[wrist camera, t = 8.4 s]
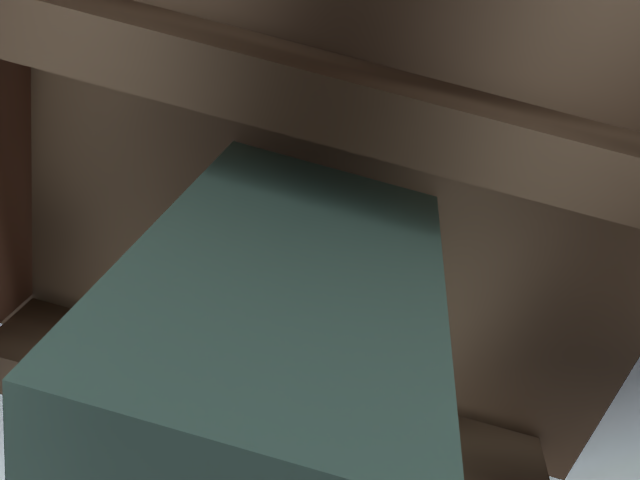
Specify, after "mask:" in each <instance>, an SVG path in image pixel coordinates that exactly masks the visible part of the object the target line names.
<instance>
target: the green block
mask: <svg viewBox="0 0 640 480" xmlns="http://www.w3.org/2000/svg"><path fill="white" fill-rule="evenodd" d="M2 390H3V423H4V455H5V480H464V474H463V463H462V453H461V442H460V432H459V421H458V411H457V400H456V390H455V379H454V369H453V359H452V348H451V338H450V327H449V317H448V306H447V296H446V285H445V275H444V264H443V254H442V243H441V233H440V223H439V212H438V202H437V197H436V196H432V195H429V194H425V193H421V192H418V191H414V190H410V189H407V188H403V187H399V186H396V185H392V184H388V183H385V182H381V181H378V180H374V179H370V178H367V177H363V176H359V175H356V174H352V173H348V172H345V171H341V170H337V169H334V168H330V167H326V166H323V165H319V164H315V163H312V162H308V161H304V160H301V159H297V158H294V157H290V156H286V155H283V154H279V153H275V152H272V151H268V150H264V149H261V148H257V147H253V146H250V145H246V144H242V143H239V142H235V141H233V142H232V143H231V144H230V145H229V146H228V147H227V148H226V149H225V150H224V151H223V152H222V153H221V154H220V155H219V156H218V157H217V158H216V159H215V161H214V162H213V163H212V164H211V165H210V166H209V167H208V168H207V169H206V170H205V171H204V172H203V173H202V174H201V175H200V176H199V177H198V178H197V179H196V180H195V181H194V182H193V183H192V184H191V185H190V186H189V187H188V188H187V189H186V190H185V191H184V193H183V194H182V195H181V196H180V197H179V198H178V199H177V200H176V201H175V202H174V203H173V204H172V205H171V206H170V207H169V208H168V209H167V210H166V211H165V212H164V213H163V214H162V215H161V216H160V217H159V218H158V219H157V220H156V221H155V222H154V223H153V225H152V226H151V227H150V228H149V229H148V230H147V231H146V232H145V233H144V234H143V235H142V236H141V237H140V238H139V239H138V240H137V241H136V242H135V243H134V244H133V245H132V246H131V247H130V248H129V249H128V250H127V251H126V252H125V253H124V254H123V255H122V257H121V258H120V259H119V260H118V261H117V262H116V263H115V264H114V265H113V266H112V267H111V268H110V269H109V270H108V271H107V272H106V273H105V274H104V275H103V276H102V277H101V278H100V279H99V280H98V281H97V282H96V283H95V284H94V285H93V286H92V287H91V289H90V290H89V291H88V292H87V293H86V294H85V295H84V296H83V297H82V298H81V299H80V300H79V301H78V302H77V303H76V304H75V305H74V306H73V307H72V308H71V309H70V310H69V311H68V312H67V313H66V314H65V315H64V316H63V317H62V318H61V319H60V321H59V322H58V323H57V324H56V325H55V326H54V327H53V328H52V329H51V330H50V331H49V332H48V333H47V334H46V335H45V336H44V337H43V338H42V339H41V340H40V341H39V342H38V343H37V344H36V345H35V346H34V347H33V348H32V349H31V350H30V351H29V353H28V354H27V355H26V356H25V357H24V358H23V359H22V360H21V361H20V362H19V363H18V364H17V365H16V366H15V367H14V368H13V369H12V370H11V371H10V372H9V373H8V374H7V375H6V376H5V377H4V378H3V379H2Z"/></svg>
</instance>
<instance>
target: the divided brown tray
mask: <svg viewBox="0 0 640 480" xmlns="http://www.w3.org/2000/svg"><path fill="white" fill-rule="evenodd" d="M233 141H235V142H239V143H242V144H246V145H250V146H253V147H257V148H261V149H264V150H268V151H272V152H275V153H279V154H283V155H286V156H290V157H294V158H297V159H301V160H304V161H308V162H312V163H315V164H319V165H323V166H326V167H330V168H334V169H337V170H341V171H345V172H348V173H352V174H356V175H359V176H363V177H367V178H370V179H374V180H378V181H381V182H385V183H388V184H392V185H396V186H399V187H403V188H407V189H410V190H414V191H418V192H421V193H425V194H429V195H432V196H436V197H437V202H438V212H439V223H440V233H441V243H442V254H443V264H444V275H445V285H446V296H447V306H448V317H449V327H450V338H451V348H452V359H453V369H454V379H455V390H456V400H457V411H458V421H459V432H460V442H461V453H462V463H463V474H464V480H550V479H549V476H551V477H555V478H558V479H562V480H565V478H566V476H567V475H568V473H569V471H570V470H571V468H572V466H573V465H574V463H575V462H576V460H577V458H578V457H579V455H580V453H581V452H582V450H583V448H584V447H585V445H586V444H587V442H588V440H589V439H590V437H591V435H592V434H593V432H594V430H595V429H596V427H597V426H598V424H599V422H600V421H601V419H602V417H603V416H604V414H605V412H606V411H607V409H608V408H609V406H610V404H611V403H612V401H613V399H614V398H615V396H616V394H617V393H618V391H619V390H620V388H621V386H622V385H623V383H624V381H625V380H626V378H627V376H628V375H629V373H630V372H631V370H632V368H633V367H634V365H635V363H636V362H637V360H638V358H639V357H640V0H0V323H2V324H3V325H2V326H1V327H0V394H3V390H2V379H3V378H4V377H5V376H6V375H7V374H8V373H9V372H10V371H11V370H12V369H13V368H14V367H15V366H16V365H17V364H18V363H19V362H20V361H21V360H22V359H23V358H24V357H25V356H26V355H27V354H28V353H29V351H30V350H31V349H32V348H33V347H34V346H35V345H36V344H37V343H38V342H39V341H40V340H41V339H42V338H43V337H44V336H45V335H46V334H47V333H48V332H49V331H50V330H51V329H52V328H53V327H54V326H55V325H56V324H57V323H58V322H59V321H60V319H61V318H62V317H63V316H64V315H65V314H66V313H67V312H68V311H69V310H70V309H71V308H72V307H73V306H74V305H75V304H76V303H77V302H78V301H79V300H80V299H81V298H82V297H83V296H84V295H85V294H86V293H87V292H88V291H89V290H90V289H91V287H92V286H93V285H94V284H95V283H96V282H97V281H98V280H99V279H100V278H101V277H102V276H103V275H104V274H105V273H106V272H107V271H108V270H109V269H110V268H111V267H112V266H113V265H114V264H115V263H116V262H117V261H118V260H119V259H120V258H121V257H122V255H123V254H124V253H125V252H126V251H127V250H128V249H129V248H130V247H131V246H132V245H133V244H134V243H135V242H136V241H137V240H138V239H139V238H140V237H141V236H142V235H143V234H144V233H145V232H146V231H147V230H148V229H149V228H150V227H151V226H152V225H153V223H154V222H155V221H156V220H157V219H158V218H159V217H160V216H161V215H162V214H163V213H164V212H165V211H166V210H167V209H168V208H169V207H170V206H171V205H172V204H173V203H174V202H175V201H176V200H177V199H178V198H179V197H180V196H181V195H182V194H183V193H184V191H185V190H186V189H187V188H188V187H189V186H190V185H191V184H192V183H193V182H194V181H195V180H196V179H197V178H198V177H199V176H200V175H201V174H202V173H203V172H204V171H205V170H206V169H207V168H208V167H209V166H210V165H211V164H212V163H213V162H214V161H215V159H216V158H217V157H218V156H219V155H220V154H221V153H222V152H223V151H224V150H225V149H226V148H227V147H228V146H229V145H230V144H231V143H232V142H233Z"/></svg>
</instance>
